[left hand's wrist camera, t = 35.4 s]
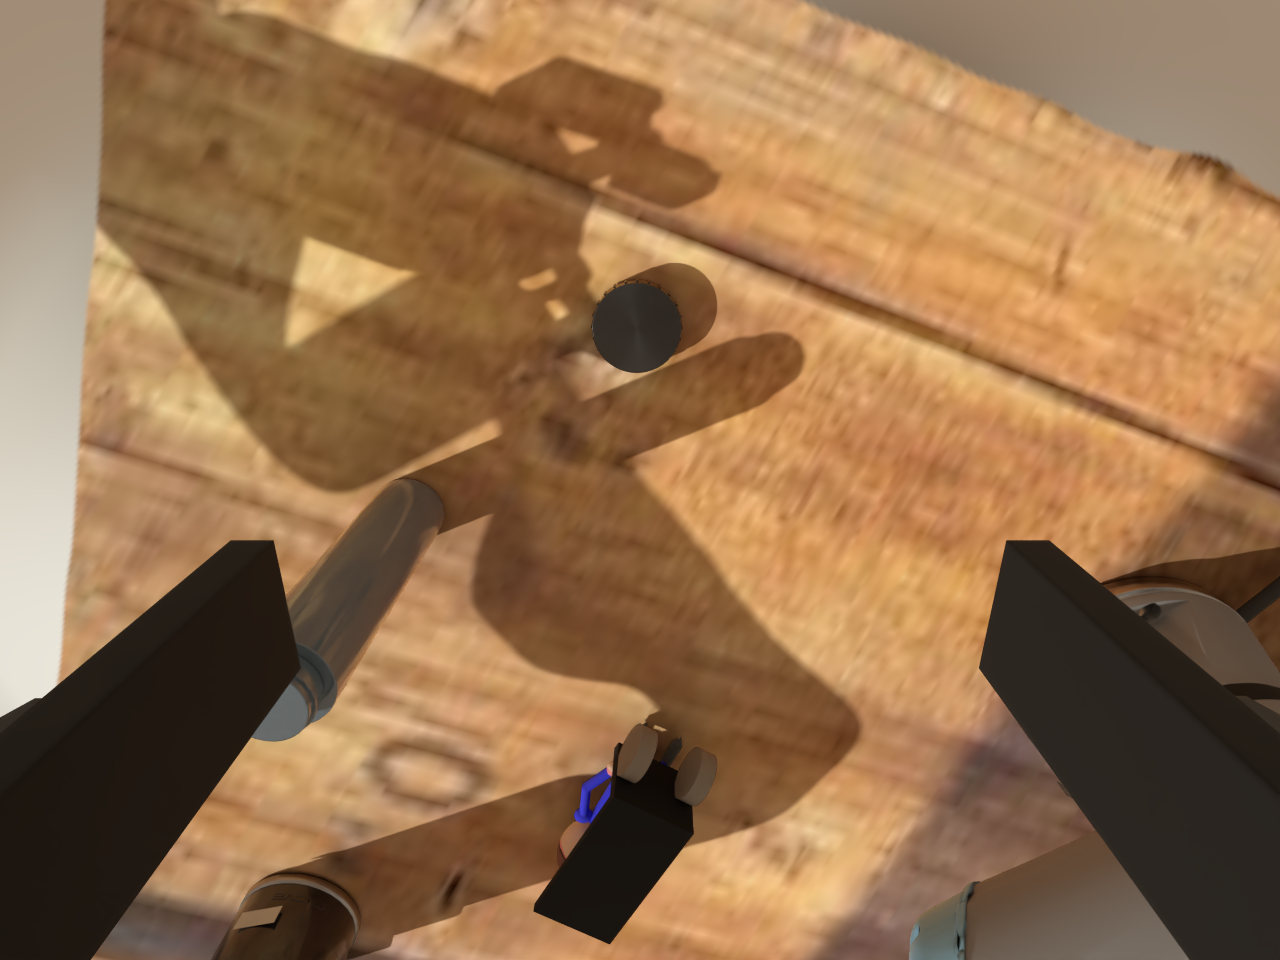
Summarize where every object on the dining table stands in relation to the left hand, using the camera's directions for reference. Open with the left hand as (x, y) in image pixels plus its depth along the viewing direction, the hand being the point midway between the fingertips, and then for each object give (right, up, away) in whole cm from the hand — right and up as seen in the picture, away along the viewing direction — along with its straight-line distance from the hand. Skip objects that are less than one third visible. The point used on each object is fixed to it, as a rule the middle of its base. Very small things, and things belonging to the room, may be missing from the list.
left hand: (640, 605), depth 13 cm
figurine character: (-1, -20, +40) cm, 44 cm away
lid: (0, +11, +26) cm, 28 cm away
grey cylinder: (-14, 0, +31) cm, 35 cm away
